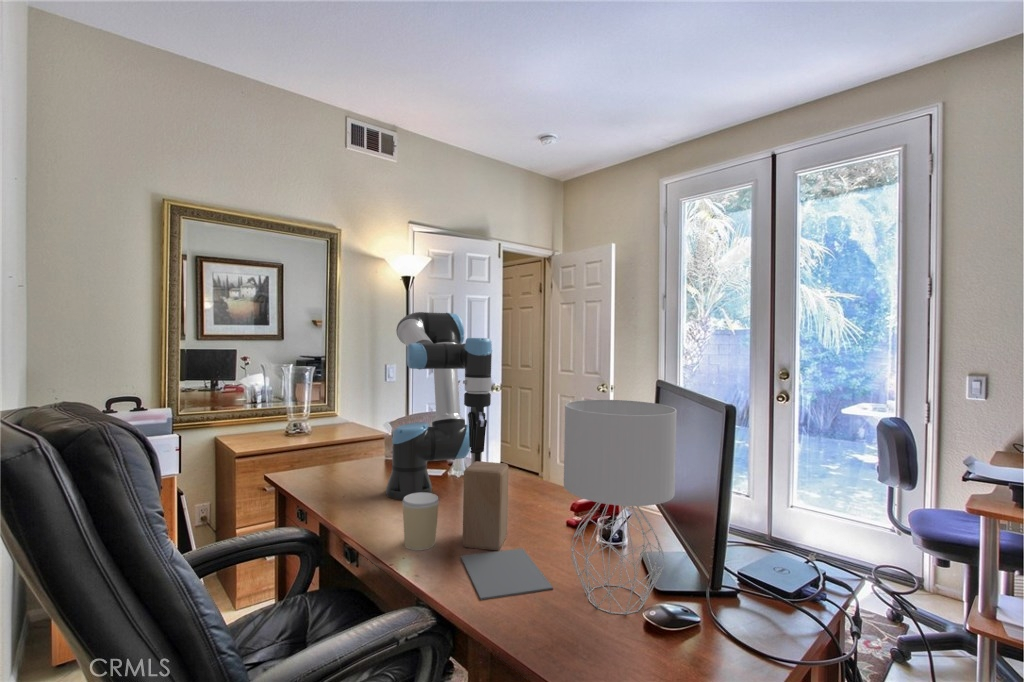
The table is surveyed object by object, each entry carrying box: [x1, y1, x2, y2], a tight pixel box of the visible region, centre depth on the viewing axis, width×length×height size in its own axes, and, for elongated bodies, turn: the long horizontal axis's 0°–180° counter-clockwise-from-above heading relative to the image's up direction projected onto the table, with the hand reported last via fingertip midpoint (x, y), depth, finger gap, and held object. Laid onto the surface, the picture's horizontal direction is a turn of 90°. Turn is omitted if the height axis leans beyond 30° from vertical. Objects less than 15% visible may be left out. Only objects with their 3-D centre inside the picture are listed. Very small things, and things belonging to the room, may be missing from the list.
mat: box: [460, 547, 554, 601], centre depth 112 cm, size 20×16×1 cm
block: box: [462, 461, 510, 551], centre depth 128 cm, size 10×10×20 cm
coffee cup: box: [401, 492, 440, 551], centre depth 126 cm, size 9×9×12 cm
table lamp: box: [563, 399, 678, 616], centre depth 101 cm, size 22×22×40 cm
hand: (475, 474), depth 139 cm, fingers closed
